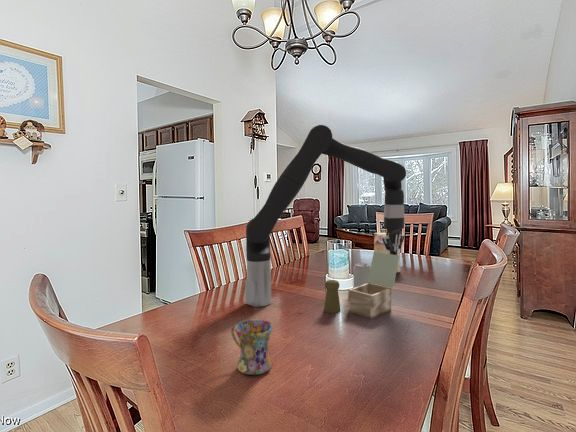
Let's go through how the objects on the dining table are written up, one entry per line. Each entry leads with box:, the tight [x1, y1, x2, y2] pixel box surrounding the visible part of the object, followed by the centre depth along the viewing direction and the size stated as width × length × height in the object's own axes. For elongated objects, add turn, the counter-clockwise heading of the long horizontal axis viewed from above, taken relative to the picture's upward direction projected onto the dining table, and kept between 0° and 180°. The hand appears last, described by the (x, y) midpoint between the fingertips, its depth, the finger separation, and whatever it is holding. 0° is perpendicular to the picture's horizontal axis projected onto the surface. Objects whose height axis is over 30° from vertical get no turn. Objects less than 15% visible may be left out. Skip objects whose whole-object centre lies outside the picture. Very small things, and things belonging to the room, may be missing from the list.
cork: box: [323, 279, 342, 314], centre depth 122 cm, size 6×6×11 cm
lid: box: [368, 251, 399, 289], centre depth 126 cm, size 12×10×1 cm
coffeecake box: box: [373, 232, 401, 273], centre depth 182 cm, size 15×7×20 cm, turn 17°
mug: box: [230, 318, 274, 376], centre depth 83 cm, size 12×9×11 cm
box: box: [347, 283, 392, 320], centre depth 121 cm, size 12×10×8 cm
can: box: [352, 262, 372, 288], centre depth 143 cm, size 8×8×12 cm
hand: (393, 260), depth 131 cm, fingers closed
